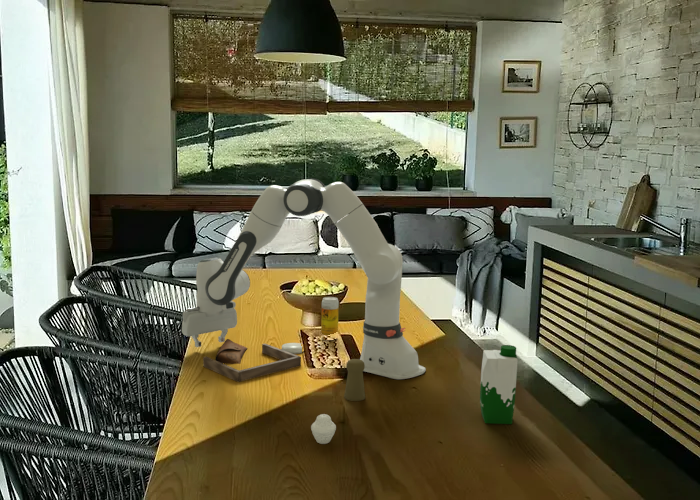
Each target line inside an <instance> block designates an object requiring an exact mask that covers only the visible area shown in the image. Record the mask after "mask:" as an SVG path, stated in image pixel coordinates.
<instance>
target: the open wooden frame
mask: <svg viewBox="0 0 700 500" xmlns="http://www.w3.org/2000/svg"><path fill="white" fill-rule="evenodd" d="M261 346H262V347H261V353H262V354H264V355H267V356H270V357H272V358H275V359H277V360H276V361H272V362H269V363H264V364H261V365H256V366H252V367H248V368H244V369H237V368H235V367H232V366H230V365H228V364H223V363H220V362H218V361H216V360H215V359H214V358H211V357H210V356H209V357H208V356H203V358H202V362H203V363H202V365H203V367H204V368H206V369H209V370H211V371H212V370H213V372H215V373H218V374H219V375H222V376H224V377H226V378H228V379H231V380H233V381H235V382H238V383H240V382H244V381H247V380H251V379H255V378H259V377H262V376H266V375H270V374H274V373H279V372H282V371H287V370H291V369H294V368H298V367H301V366H302V356H300V355H297V354H292V353H289V352H287V351H284V350H282V348H278V347H276V346H272V345H270V344H268V343H262V344H261Z"/></svg>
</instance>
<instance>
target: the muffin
mask: <svg viewBox="0 0 700 500" xmlns="http://www.w3.org/2000/svg"><path fill="white" fill-rule="evenodd" d="M310 429H311V432H312V433H311V434H312V435H313V437H314V439H315V440H316V442H317V443H319V444H321V445H326V444H328V443H330V442H331V440H332V439H333V436H334V435H335V432H336V430H337V425H336V424H335V423H334V422H333V421H332V418H331V416H330V415H328V414H327V413H326V414H325V413H321V414H319V415H317V416H316V419H315V421H314V422H313V423H312V424H311V425H310Z"/></svg>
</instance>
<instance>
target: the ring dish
mask: <svg viewBox="0 0 700 500" xmlns="http://www.w3.org/2000/svg"><path fill="white" fill-rule="evenodd" d="M301 344H302V343H301V342H300V343H299V342H287V343H283V344H282V345H281V350H284V351H287V352H289V353H292V354H295V355H297V354H298V355H299V354H302V346H301Z"/></svg>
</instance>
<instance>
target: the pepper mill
mask: <svg viewBox="0 0 700 500" xmlns="http://www.w3.org/2000/svg"><path fill="white" fill-rule="evenodd" d="M364 368H365V365H364V362H363V361H362V360H360V358H352V359H349V360H348V361H347V362H346V370H347V376H346V384H345V389H344V396H343V398H344V399H345V400H347V401H352V402H360V401H363V400H365V399H366V393H365V391H366V390H365V383H364V373H363V372H364V371H363V370H364Z"/></svg>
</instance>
